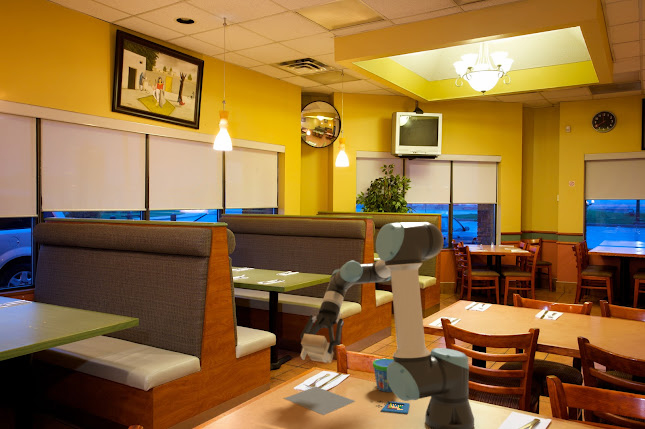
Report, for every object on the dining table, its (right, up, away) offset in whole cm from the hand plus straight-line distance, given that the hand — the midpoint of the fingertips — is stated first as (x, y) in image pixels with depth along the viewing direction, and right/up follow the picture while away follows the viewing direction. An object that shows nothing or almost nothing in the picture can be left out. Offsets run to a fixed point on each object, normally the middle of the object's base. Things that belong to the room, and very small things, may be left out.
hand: (313, 359), depth 181 cm
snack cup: (+28, -14, +10) cm, 33 cm away
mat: (+2, -15, -1) cm, 15 cm away
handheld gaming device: (+26, -15, -6) cm, 30 cm away
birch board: (+3, -1, +7) cm, 8 cm away
